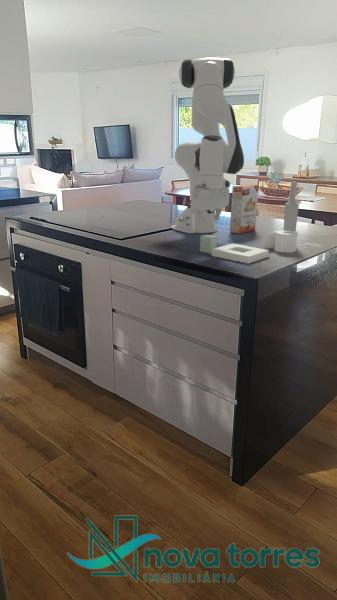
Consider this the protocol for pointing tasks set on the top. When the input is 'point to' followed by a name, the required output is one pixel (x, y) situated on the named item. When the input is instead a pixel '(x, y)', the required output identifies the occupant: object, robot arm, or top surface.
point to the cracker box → (243, 208)
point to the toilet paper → (281, 241)
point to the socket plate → (240, 253)
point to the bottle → (291, 210)
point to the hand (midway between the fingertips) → (209, 221)
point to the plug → (208, 243)
